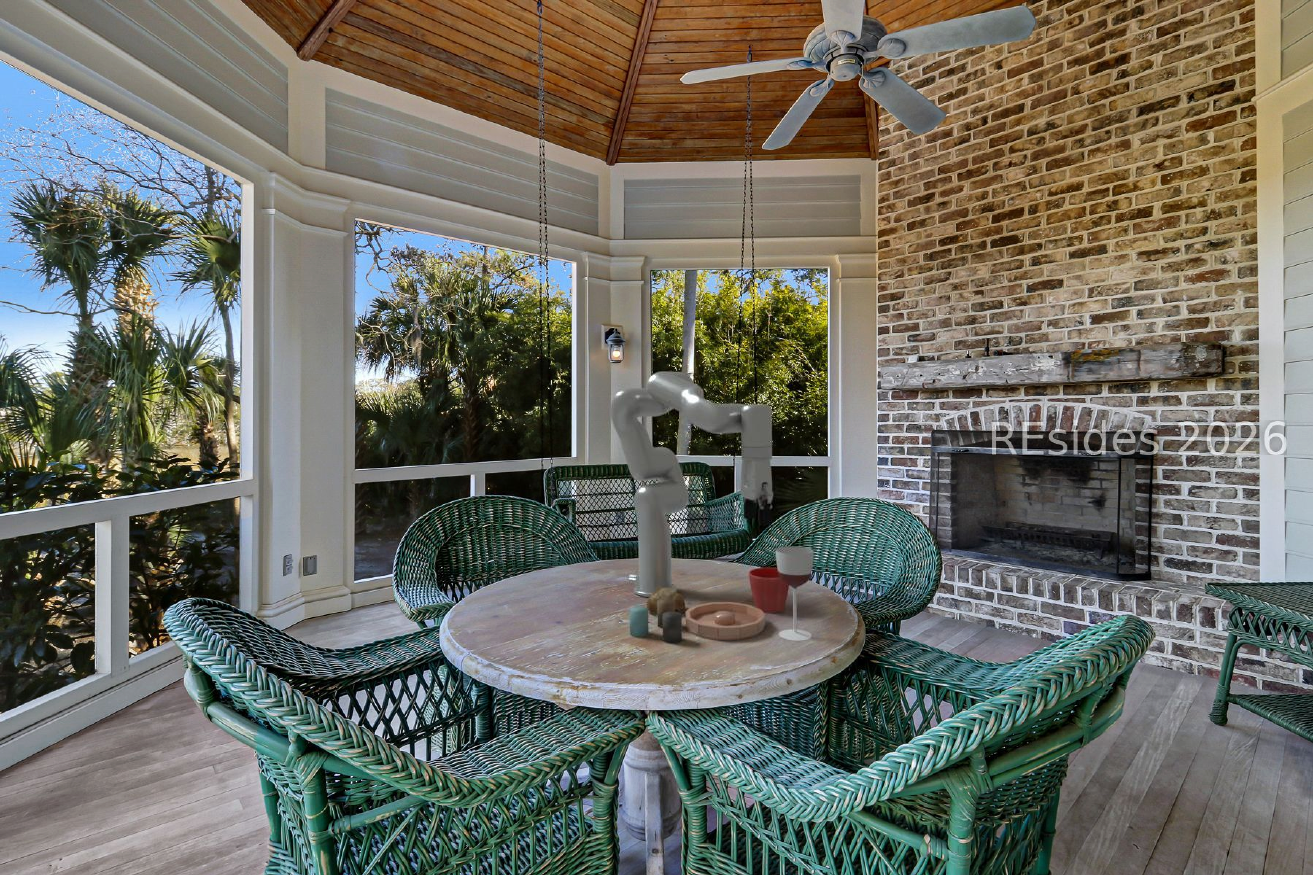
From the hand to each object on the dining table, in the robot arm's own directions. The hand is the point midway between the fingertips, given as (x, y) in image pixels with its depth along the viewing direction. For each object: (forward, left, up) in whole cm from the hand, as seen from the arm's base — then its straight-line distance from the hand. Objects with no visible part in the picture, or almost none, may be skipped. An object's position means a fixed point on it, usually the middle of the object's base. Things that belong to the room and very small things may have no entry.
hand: (757, 521), depth 163 cm
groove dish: (-5, -9, -25) cm, 27 cm away
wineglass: (+12, -7, -25) cm, 29 cm away
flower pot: (0, +9, -25) cm, 26 cm away
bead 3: (-12, -23, -25) cm, 36 cm away
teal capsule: (-21, -23, -25) cm, 40 cm away
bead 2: (-18, -15, -25) cm, 34 cm away
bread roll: (-24, -5, -25) cm, 35 cm away
